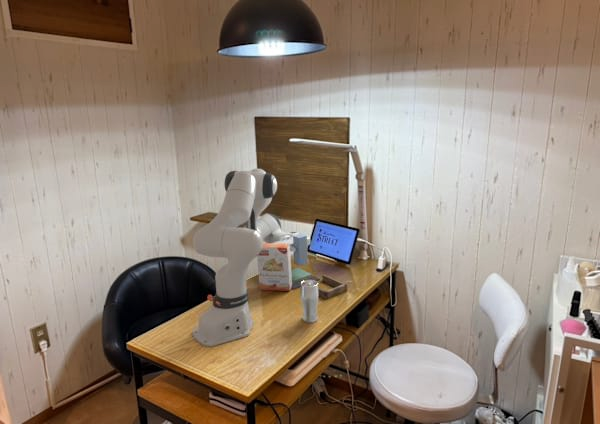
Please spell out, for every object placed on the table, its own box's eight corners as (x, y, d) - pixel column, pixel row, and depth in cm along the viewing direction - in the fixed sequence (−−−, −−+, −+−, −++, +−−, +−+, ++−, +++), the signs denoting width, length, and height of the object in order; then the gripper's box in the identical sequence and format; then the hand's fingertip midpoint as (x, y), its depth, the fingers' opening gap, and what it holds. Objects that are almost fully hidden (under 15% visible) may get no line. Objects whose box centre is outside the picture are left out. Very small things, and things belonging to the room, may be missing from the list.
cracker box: (259, 290, 186) (255, 247, 180) (263, 284, 191) (259, 242, 186) (290, 291, 183) (287, 247, 177) (292, 285, 189) (289, 242, 183)
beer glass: (307, 325, 155) (306, 288, 152) (297, 317, 161) (296, 282, 157) (322, 319, 159) (322, 283, 155) (312, 312, 165) (311, 277, 161)
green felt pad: (293, 281, 194) (293, 280, 194) (280, 274, 202) (280, 273, 202) (311, 275, 201) (311, 274, 200) (297, 268, 209) (297, 267, 209)
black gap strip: (293, 289, 186) (293, 288, 186) (286, 286, 190) (286, 285, 189) (319, 279, 195) (319, 278, 195) (312, 276, 199) (312, 275, 199)
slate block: (300, 266, 194) (299, 238, 190) (294, 263, 197) (292, 235, 193) (307, 263, 196) (306, 235, 193) (301, 261, 200) (300, 233, 196)
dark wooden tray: (326, 299, 176) (326, 292, 175) (304, 287, 187) (303, 281, 186) (347, 290, 183) (347, 284, 182) (324, 280, 195) (324, 274, 194)
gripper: (266, 239, 197) (283, 247, 187) (299, 230, 210) (317, 237, 199) (266, 252, 199) (283, 260, 189) (300, 242, 211) (317, 249, 201)
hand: (301, 248), depth 194 cm, fingers closed on slate block, 5 cm apart
